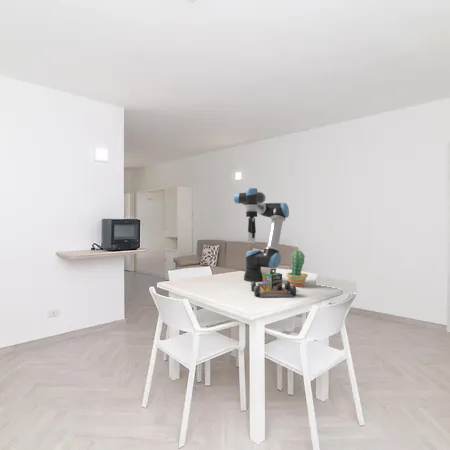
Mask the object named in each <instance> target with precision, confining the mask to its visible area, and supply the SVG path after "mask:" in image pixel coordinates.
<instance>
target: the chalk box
mask: <svg viewBox="0 0 450 450" xmlns="http://www.w3.org/2000/svg"><path fill="white" fill-rule="evenodd" d="M276 271H277V268H270V271H269V272H264V273H263V272H262V275H263V280H262V283H263V290H264V291H281V290H282V287H283V273H280V272H276Z"/></svg>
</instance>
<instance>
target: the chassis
mask: <svg viewBox="0 0 450 450" xmlns="http://www.w3.org/2000/svg"><path fill="white" fill-rule="evenodd" d="M256 282H257V281H250V289H251V292H253V293H254V294H253V295H254V297H259V298H260V299H266V298H267V299H269V298H271V299H272V298H273V299H274V298H275V299H276V298H277V297H281V298H294V296H296V295H297V288H296V287H295V286H291V285H290V284H291V283H290V282H289V280H286V281H284V283H283V284H284V285H283V286H282V290H281V291H264V290H263V282H257V283H256Z"/></svg>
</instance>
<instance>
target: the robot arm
mask: <svg viewBox="0 0 450 450" xmlns="http://www.w3.org/2000/svg"><path fill="white" fill-rule="evenodd" d="M233 201H234V203H235V204H240V205H241V204H242V205H244V207H245V208H246V209H245V210H246V212H245V215H246V218H248V220H247V221H248V227H247V232H248V234H247V235H248V236H247V237H248V238H247V239H248V241H247V242H250V244H256V232H257V230H256V217H258V215H261V216H263V217H266V218H270V219H271V224H270V228H269V232H268V238H267V243H266V247H264V249H263V251H262V250H261V249H253V250H252V249H251V250H248V251H246V254H245V271H244V275H243V281H245V282H263V272H262V268H269V269H274V268H276V269H277V268H278V267H279V266H280V264H281V260H282V259H281V257H282V256H281V253H280V251H279V243H280V239H281V233H282V232H281V231H282V228H283V222H285V221H286V218H289V216H290V209H289V206H288V204H287V203H286V202H269V203H268V202H266V203H265V201H266V194H265V193H264V192H261V191H259V192H258V188H257V187H248V188H246V191H245V192H237V193H235V194H234V196H233Z"/></svg>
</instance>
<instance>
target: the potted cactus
mask: <svg viewBox="0 0 450 450" xmlns="http://www.w3.org/2000/svg"><path fill="white" fill-rule="evenodd" d="M290 257H291V259H290V261H291V265H292V266H291V272H286V273H285V276H286V277H287V281H289V282H290V286H295V287H298V288H299V287H303V286H304V284H305V282H306V280H307V277H308V276H309V275H308V274H307V273H303V272H302V269H303V265H304V264H305V257H306V256H305V254H304V253H303V252H302V250H297V249H296V250H294V251H293V252H292V254H291V256H290Z"/></svg>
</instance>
